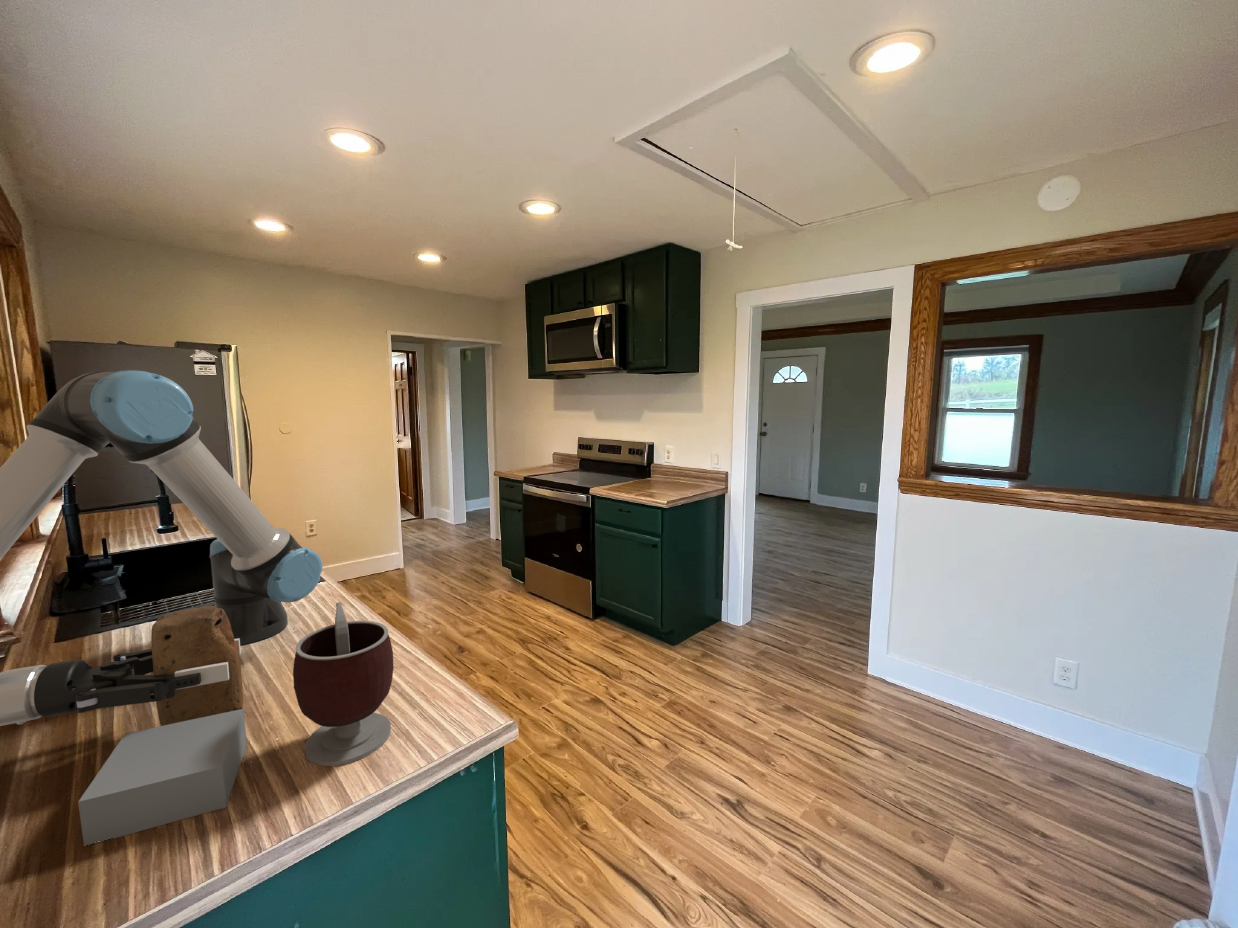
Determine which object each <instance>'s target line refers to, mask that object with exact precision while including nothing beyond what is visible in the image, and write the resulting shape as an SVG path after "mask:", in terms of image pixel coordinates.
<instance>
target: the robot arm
mask: <svg viewBox="0 0 1238 928" xmlns="http://www.w3.org/2000/svg"><path fill="white" fill-rule="evenodd" d="M193 412H194V405H193V402H192V400H191V397H190V396H189V395H188V393H187V392H186V391H185V390H184V388H182V386H180V385H179V384H178V383H177V382H175V381H173V380H172V379H170V378H168V377H165V376H163V375H161V374H157V373H152V372H149V371H144V370H131V369H130V370H119V371H94V372H92V371H91V372H88V373H84V374H81V375H80V376H77V377H75V378H73V379H71V380H70V381H68V382H67V383H66V384H64V386H62V387H61V388H60V389H59V390H58V391H57V392H56V393H55V394H54V395H53V396H52V398H50V400H49V401H47V403H46V404H45V405H44V406H43V408H41V410H40V411H39V412H38V413H37V414H36V416H35V417H34V418H32V420H31V421H30V422H29V423H28V424H27V426H26V430H27V433H28V436H27V438H25V439H24V441H23V442H22V443H21V444H20V445H19V446H18V447H17V448H16V450H15V451H14V452H13V453H12V454H11V455H9V457H8V458H7V459H6V460H5V461H4V463H3V464H2V465H1V466H0V561H1V560H2V558H3V557H4V556H5V555H6V553H8V551H10V549H11V547H13V545H14V544H15V543H16V542H17V541H18V539H19V538H20V537H21V536H22V534H23V533H24V532H25V531H26V529H28V527H30V525H31V524H32V523H33V522H34V520H35V519H36V518H37V517H38V516H39V515H40V514H41V512H42V511H43V510H44V508H45V507H46V506H47V505H48V504H49V502H50V501H52V499H53V498H54V497H55V496H56V494H57V493H58V492H59V491H60V489H61V488H62V487H63V486H64V484H65V483H67V481H68V480H69V478H70V477H71V476H72V475H74V473H75V472H76V470H78V468H79V467H80V466H81V464H82V463H83V462H84V461H85V460H86V459H89V458H94V457H97V456H98V455H100V453H101V452H102V451H103V449H104V448H105V447H106V446H107V445H108V444H111V445H112V446H113V447H114V448H115V449H116V450H117V451H118V452H119V453H120V454H121V455H122V456H123V457H124V458H125V459H126V460H127V462H129V463H131V464H139V465H146V466H147V467H148V468H149V469H150V470H151V471H152V472H153V473H154V474H155V475H156V476H157V477H158V478H159V480H161V481H162V482H163V484H165V486H166V487H167V488H168V489H169V490H170V491H171V492H172V493H173V494H174V495H175V496H176V497H177V499H179V500H180V501H181V502H182V503H183V504H184V505H185V507H186V508H188V509H189V511H191V513H192V514H193V515H194V516H196V518H197V519H198V520H199V521H200V522H201V523H202V524H203V525H204V526H205V527H206V528H207V530H209V531H210V533H212V534H213V536H214V537H215V538H216V539H215V540H212V542H211V543H210V545H209V546H210V547H209V559H210V565H211V566H210V568H211V577H212V587H213V597H214V598H213V599H214V606H215V607H217V608H221V609H223V610H224V611H225V613H226V615H227V617H228V620H229V622H230V625H231V630H232V633H233V636H234V640H235V644H236V647H237V650H238V654H239V656H240V655H241V653H242V652H241V651H242V649H241V646H242V645H245V644H250V643H254V642H259V641H262V640H265V639H268V638H270V637H273V636H274V635H277V634H278V633H280V632H282V631H283V630H285V629H286V627H287V626H288V625H289V624H288V623H289V621H288V620H289V619H288V613H287V611H286V609H285V607H284V605H283V603H285V604H286V603H296V602H298V601H300V600H302V599H304V598H305V597H307V596H308V595H310V594H311V593H312V592H313V591H314V589H315V588H316V587H317V585H318V584H319V582H320V580H321V575H322V572H323V561H322V558H321V556H320V555H319V554H318V553H317V552H316V551H314V550H312V549H310V548H308V547H303V546H301V545H300V544H299V542H298V541H297V540H296V539H295V537H293V535H292V534H291V533H290V532H289V531H288V530H287V529H286V528H281V527H280V528H279V527H274V526H273V524H272V523H271V522H270V521H269V519H268V518H267V517H266V516H265V514H263V513H262V512H261V510H260V509H259V508H258V507H257V506H256V504H255V503H254V502H253V501H252V500H251V498H250V497H249V496H248V495H247V494H246V493H245V491H244V490H243V489H242V488H241V487H240V485H239V484H238V483H237V481H235V479H234V478H233V477H232V476H231V475H230V473H229V472H228V471H227V470H226V469H225V468H224V467H223V466H222V464H221V463H220V462H219V461H218V459H217V458H216V457H215V456H214V454H212V452H211V451H210V450H209V449H208V448H207V446H206V445H205V444H204V443H203V442H202V441H201V440H200V438H199V437H200V433H201V430H202V429H201V428H202V426H201V425H200V424H199V422H198V421H197V420H196V419H195V418H194V416H193ZM112 659H113V661H110V662H109V661H108V662H107V663H103V664H101V665H98V666H94V667H93V666H90V665H89V664H88V662H87V661H85V660H84V659H79V658H78V659H72V660H66V661H59V662H54V663H50V664H47V665H46V664H38V665H32V666H26V667H20V668H14V669H8V670H2V671H0V727H1V726H7V725H13V724H15V725H23V724H25V723H26V722H28V721H32V720H38V719H40V718H41V717H43V718H51V717H56V716H62V715H68V714H72V713H76V712H77V713H79V714H80V713H86V712H90V711H93V710H98V709H105V708H112V707H113V708H114V707H122V706H130V705H138V704H146V703H147V704H148V703H154V702H156V701H161V700H163V699H164V698H165V694H166V699H168V698H172V697H174V696H175V692H174V689H176V690H178V689H183V688H189V687H194V686H199V685H205V684H210V683H215V682H221V681H226V680H229V668H228V662H224V663H219V664H213V665H207V666H202V667H196V668H190V669H184V670H179V671H176V672H175V673H174V675H175V677H173V675H154V674H151V673H154V671H153V659H152V647H151V648H148V649H143V650H138V651H134V652H133V651H132V652H123V653H117V654H115V655H113V656H112Z"/></svg>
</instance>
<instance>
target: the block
mask: <svg viewBox="0 0 1238 928" xmlns="http://www.w3.org/2000/svg"><path fill="white" fill-rule="evenodd" d="M150 636H151V638H150V639H151V642H150V643H151V648H152V659H153V671H154V672H153V675H173V677H175V675H174V673H175V672H176V671H179V670H184V669H190V668H196V667H202V666H207V665H213V664H219V663H224V662H228V668H229V680H226V681H221V682H215V683H210V684H205V685H199V686H194V687H189V688H183V689H178V690H176V689H174V692H175V696H174V697H172V698H168V699H166V694H165V698H164V699H163V700H161V701H156V709H157V715H158V722H159V725H160V726H164V725H169V724H173V723H178V722H183V721H188V720H192V719H197V718H202V717H207V716H211V715H216V714H221V713H226V712H230V711H235V710H240V709H244V687H243V686H244V685H243V676H242V668H241V660H240V655H239V654H238V650H237V647H236V644H235V640H234V636H233V633H232V630H231V625H230V622H229V620H228V617H227V615H226V613H225V611H224V610H223V609H221V608H217V607H215V605H211V604H210V605H209V604H208V605H202V606H200V607H193V608H192V607H191V608H185V609H182V610H177V611H174V612H170V613H166V614H163V615H161V616H160V617H158V618H157V619H156V621H155V622H154V623H153V625H152V626H151V635H150Z"/></svg>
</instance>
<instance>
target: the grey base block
mask: <svg viewBox="0 0 1238 928" xmlns="http://www.w3.org/2000/svg"><path fill="white" fill-rule="evenodd" d="M246 732H247V731H246V720H245V710H244V708H243V709H240V710H235V711H230V712H226V713H221V714H216V715H211V716H207V717H202V718H197V719H192V720H188V721H183V722H178V723H173V724H169V725H164V726H155V727H150V728H146V729H141V730H136V731H132V732H127V733H125V734H124V735H123V736H122V738H121V739H120V741H119V742H118V744H116V747H115V748H114V749H113V750H112V752H111V753H110V755H109V756H108V758H107V760H105V762H104V763H103V765H102V767H101V768H100V770H99V771H98V773H97V774H96V776H95V777H94V778H93V779H92V781H91V783H90V784H89V786H88V787H87V788H86V789H85V791H84V793H83V794H82V796H81V797H80V799H78V810H79V817H80V826H81V827H80V828H81V833H82V840H83V846H84V845H86V844H90V843H95V842H98V841H103V842H105V841H104V840H106V841H109V840H108V839H110V840H112V839H111V838H113V839H117V838H121V837H124V836H127V835H128V836H129V835H131V834H135V833H138V832H141V831H146V830H149V829H153V828H156V827H159V826H164V825H167V824H171V823H175V822H178V821H181V820H185V819H189V818H192V817H197V816H199V815H204V814H207V813H211V812H215V811H217V810H221V809H225V808H227V807H228V803H229V800H230V797H231V793H232V791H233V787H234V785H235V782H236V778H237V776H238V772H239V769H240V766H241V764H242V760H243V758H244V757H243V756H244V755H245V754H244V753H245V750H246V748H247V744H248V743H247V733H246ZM95 844H96V843H95Z"/></svg>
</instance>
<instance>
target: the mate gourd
mask: <svg viewBox="0 0 1238 928" xmlns="http://www.w3.org/2000/svg"><path fill="white" fill-rule="evenodd" d="M335 605H336V609H335V610H336V611H335V618H334V624H330V625H327V626H324V627H321V628H319V629H316V630H314V631H312V632H310V633H308V634H306V635H305V636H303V637H302V638H301V639H299V640H298V642H297V643H296V645H295V656H294V660H293V667H292V668H293V670H292V676H293V677H292V679H293V689H294V690H293V691H294V693H295V697H296V702H297V705H298V707H299V709H300V712H301V713H302V714H303V716H305V717H306V718H307V719H309V720H310V721H312V722H313V723H315V724H316V725H318V726H320V727H318V728H317V729H316V730H314V732H312V733H311V735H310V736H309V737H308V738H307V740H306V742H305V744H304V754H305V757H306V759H307V760H308V761H309V762H311V763H312V764H315V765H317V766H323V767H337V766H344V765H348V764H350V763H354V762H357V761H359V760H362V759H363V758H366V757H368V756H370V755H372V754H373V753H375V752H376V751H378V750H379V749H381V747H382V746H384V744H385V743H386V742H387V741H388V739H389V737H390V735H391V732H392V727H391V724H392V723H391V722H390V719H389V718H388V717H386V716H385V715H383V714H382V713H377V712H376V711H377V710H378V709H379V708H380V706H381V705H382V703H383V702H384V701H385V699H386V698H387V696H388V695H389V694H390V690H391V687H392V682H393V676H394V668H395V667H394V651H393V645H392V642H391V637H390V635H389V629H388V627H387V626H386V625H385V624H383V623H380V622H377V621H372V620H353V621H348V620H347V616H346V613H345V610H344V607H343V606H342V602H341V601H339V602H337V603H336V604H335Z"/></svg>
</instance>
